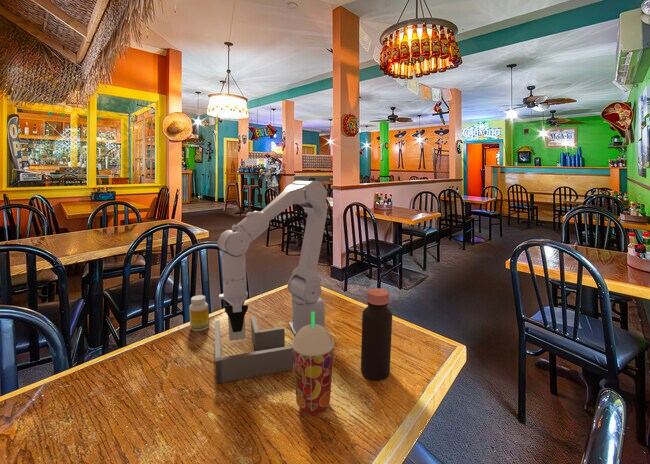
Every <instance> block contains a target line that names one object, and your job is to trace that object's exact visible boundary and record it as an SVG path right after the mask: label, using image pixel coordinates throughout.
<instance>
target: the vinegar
mask: <svg viewBox="0 0 650 464" xmlns="http://www.w3.org/2000/svg"><path fill="white" fill-rule="evenodd" d="M389 300H390V292H389V291H388V290H386V289H385V288H380V287H379V288H378V287H376V288H370V289H367V291H366V303H367V306H366V307H365V308H364V309H363V310H362V312H361V313H362V315H361V345H360V347H361V349H360V350H361V351H360V353H361V354H360V372H361V374H362V376H363V377H364V378H366V379H368V380H370V381H375V382H376V381H384V380H386V379H387V378H389V376H390V374H391V372H390V371H391V357H392V356H391V353H392V352H391V351H392V332H393V330H392V329H393V312H392V311H391V309H389V308H388V305H389V303H390V301H389Z"/></svg>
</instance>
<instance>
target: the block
mask: <svg viewBox="0 0 650 464" xmlns="http://www.w3.org/2000/svg"><path fill="white" fill-rule="evenodd" d="M242 305H243V304H242ZM226 306H230V305H226ZM227 321H228V322H227V323H228V339H229V341H238V340H245V339H246V316H245V317H244V321H243V327H242V331H241V332H233V330H232V326H231V322H230V319H229V317H228V316H227Z"/></svg>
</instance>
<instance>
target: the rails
mask: <svg viewBox="0 0 650 464" xmlns="http://www.w3.org/2000/svg"><path fill="white" fill-rule="evenodd" d="M220 324H221V323H220V320H215V321H214V360H215V362H214V363H215V376H216V377H215V378H216V381H215V382H216V384H222V383H226V382H232V381H238V380H244V379H248V378H254V377H258V376H259V377H260V376H264V375H269V374H270V375H271V374H275V373H280V372H285V371H291V370H294V365H293V352H292V345H287V346H286V344H285V343H286V341H285V338H286V337H285V333H286V332H285V327H284V326H279V327H273V328H265V329H259V326H258V322H257V318H256V316H255V315H251V316H250V332H251V333H250V334H251V338H252V342H253V346H254V350H255V351H251V352H244V353H239V354H233V355H226V356H222V347H221V346H222V345H221V343H222V341H221V325H220Z"/></svg>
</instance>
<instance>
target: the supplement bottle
mask: <svg viewBox="0 0 650 464" xmlns="http://www.w3.org/2000/svg"><path fill="white" fill-rule="evenodd" d="M188 310H189V311H188V312H189V325H190V329H191V330H192V331H194V332H201V331H204V330H207V329H208V328H209V327H210V316H209V315H210V312H209V304H208V303H207V301H206V296H205V295H203V294H199V295H194V296H192V297H191V298H190V305H189V307H188Z"/></svg>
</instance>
